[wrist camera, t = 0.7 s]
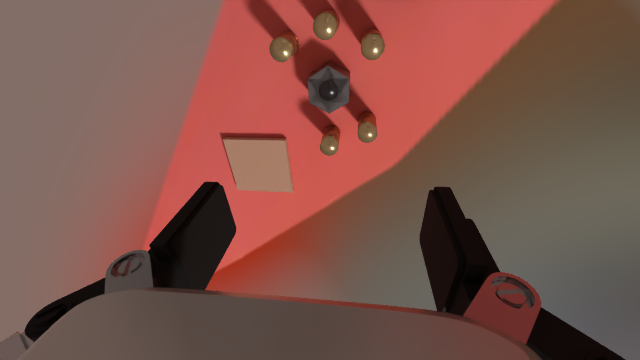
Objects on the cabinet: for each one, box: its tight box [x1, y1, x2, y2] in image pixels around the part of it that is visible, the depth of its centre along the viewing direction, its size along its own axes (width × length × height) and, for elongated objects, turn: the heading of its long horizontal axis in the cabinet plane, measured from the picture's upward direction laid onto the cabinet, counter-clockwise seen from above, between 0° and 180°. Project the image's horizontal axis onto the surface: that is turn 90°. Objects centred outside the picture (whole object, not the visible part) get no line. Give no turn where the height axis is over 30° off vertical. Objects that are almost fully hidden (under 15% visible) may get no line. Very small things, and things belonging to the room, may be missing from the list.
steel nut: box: [308, 60, 350, 113], centre depth 33 cm, size 6×5×3 cm
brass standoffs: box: [270, 10, 385, 155], centre depth 33 cm, size 16×12×4 cm
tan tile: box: [223, 137, 294, 192], centre depth 43 cm, size 10×10×1 cm
